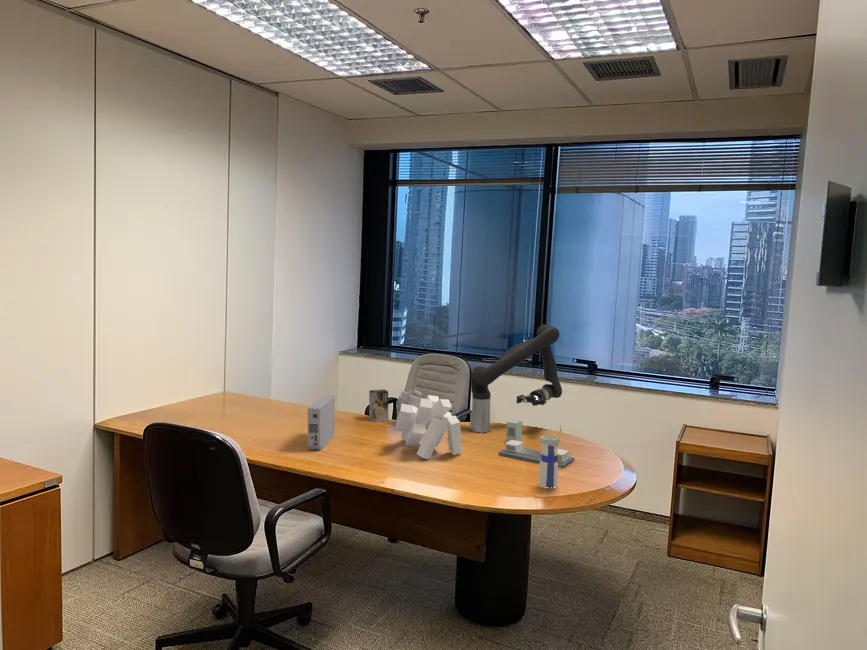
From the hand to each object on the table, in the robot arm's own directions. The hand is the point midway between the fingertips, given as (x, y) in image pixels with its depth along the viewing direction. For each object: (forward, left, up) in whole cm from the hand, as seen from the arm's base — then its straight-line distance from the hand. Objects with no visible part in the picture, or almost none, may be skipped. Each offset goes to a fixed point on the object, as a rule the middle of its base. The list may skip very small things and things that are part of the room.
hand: (525, 402), depth 311 cm
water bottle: (+36, -53, -18) cm, 67 cm away
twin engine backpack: (-56, -13, -18) cm, 60 cm away
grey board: (+18, -25, -18) cm, 36 cm away
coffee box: (-79, -16, -18) cm, 83 cm away
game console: (-74, -65, -18) cm, 100 cm away
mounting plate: (+18, -25, -16) cm, 35 cm away
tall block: (0, -11, -18) cm, 21 cm away
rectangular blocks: (+18, -25, -16) cm, 35 cm away
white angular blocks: (-27, -46, -18) cm, 57 cm away
